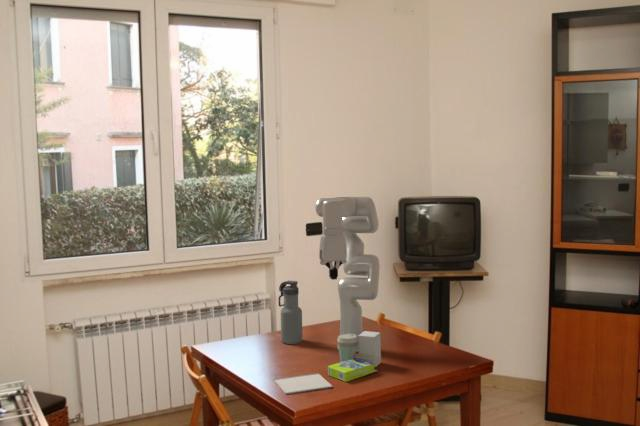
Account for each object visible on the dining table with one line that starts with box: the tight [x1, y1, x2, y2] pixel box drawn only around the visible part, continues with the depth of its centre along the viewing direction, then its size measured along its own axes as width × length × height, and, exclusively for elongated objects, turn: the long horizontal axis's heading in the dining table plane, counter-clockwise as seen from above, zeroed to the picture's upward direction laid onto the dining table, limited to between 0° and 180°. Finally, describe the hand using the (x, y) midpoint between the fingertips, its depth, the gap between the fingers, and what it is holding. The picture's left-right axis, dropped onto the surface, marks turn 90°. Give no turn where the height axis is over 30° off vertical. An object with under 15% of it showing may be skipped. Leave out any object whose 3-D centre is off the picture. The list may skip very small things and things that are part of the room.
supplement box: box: [357, 330, 382, 368], centre depth 265 cm, size 7×7×13 cm
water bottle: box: [277, 279, 303, 345], centre depth 298 cm, size 10×10×28 cm
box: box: [327, 357, 378, 383], centre depth 254 cm, size 10×4×17 cm
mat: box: [273, 372, 334, 396], centre depth 244 cm, size 18×16×1 cm
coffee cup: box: [336, 333, 358, 363], centre depth 264 cm, size 8×9×12 cm
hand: (333, 278), depth 253 cm, fingers closed
